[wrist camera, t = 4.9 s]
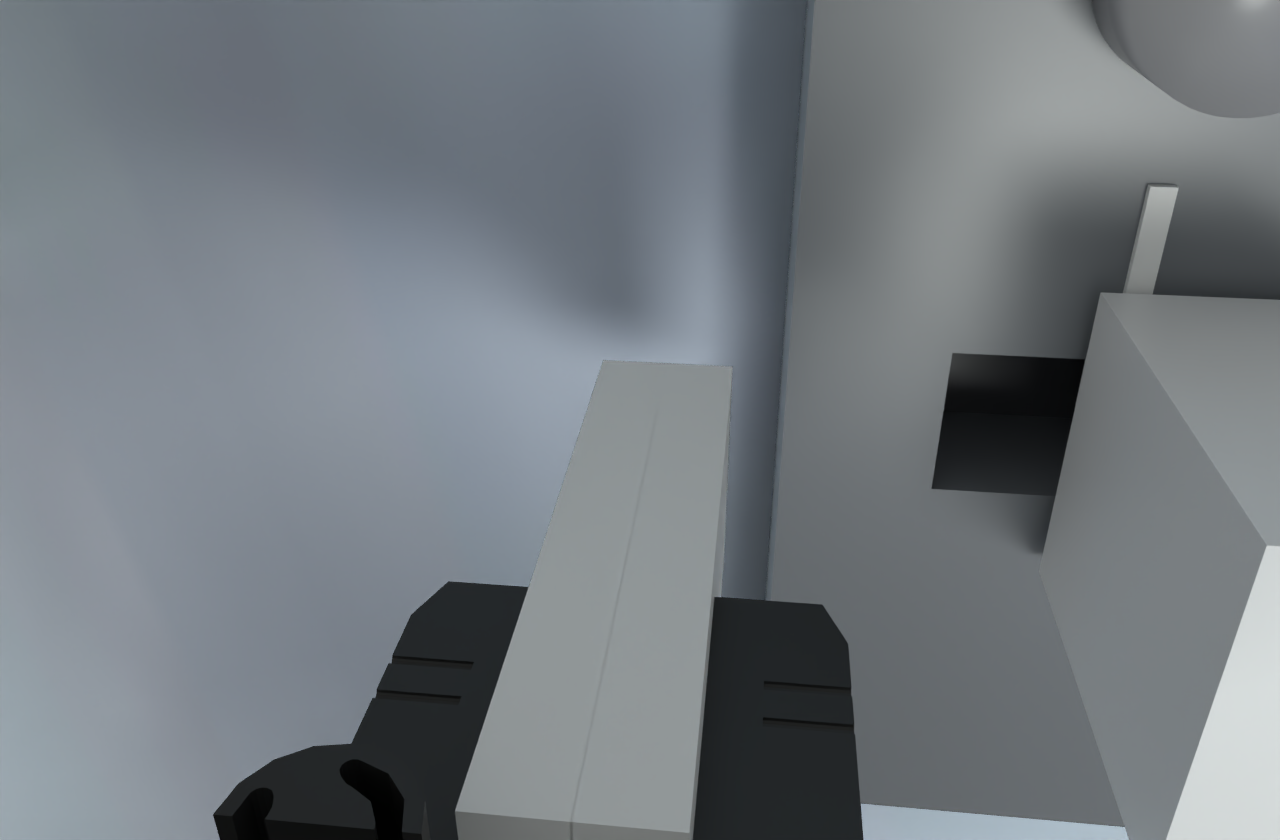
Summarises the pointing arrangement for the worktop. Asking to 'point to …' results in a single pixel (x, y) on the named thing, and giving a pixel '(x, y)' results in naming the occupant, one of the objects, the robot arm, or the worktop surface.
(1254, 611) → the fader
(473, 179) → the worktop surface
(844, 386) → the console
